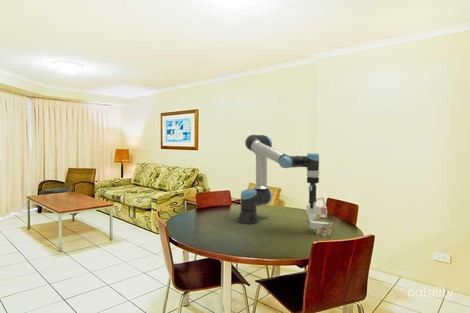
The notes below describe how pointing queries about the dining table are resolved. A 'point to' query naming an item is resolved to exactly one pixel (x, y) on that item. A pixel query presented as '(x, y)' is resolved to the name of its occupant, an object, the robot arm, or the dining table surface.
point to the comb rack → (325, 230)
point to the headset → (313, 216)
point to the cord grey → (318, 224)
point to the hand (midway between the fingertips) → (312, 212)
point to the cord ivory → (318, 210)
